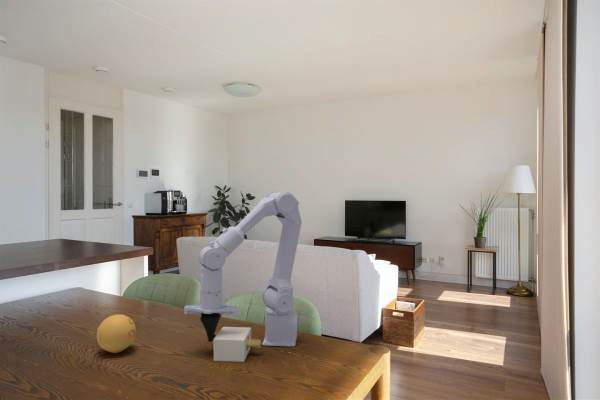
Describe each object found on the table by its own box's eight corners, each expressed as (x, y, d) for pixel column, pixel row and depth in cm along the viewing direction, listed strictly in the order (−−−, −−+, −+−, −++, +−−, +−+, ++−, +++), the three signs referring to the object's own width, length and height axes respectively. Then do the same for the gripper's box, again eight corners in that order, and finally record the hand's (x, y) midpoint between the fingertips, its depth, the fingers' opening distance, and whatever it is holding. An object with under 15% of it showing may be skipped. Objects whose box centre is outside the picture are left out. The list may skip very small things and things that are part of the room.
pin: (261, 348, 112) (261, 333, 112) (259, 353, 108) (259, 338, 108) (216, 346, 113) (216, 332, 113) (212, 352, 109) (212, 337, 109)
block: (250, 347, 115) (251, 327, 115) (244, 361, 105) (244, 340, 105) (223, 346, 116) (223, 326, 116) (213, 360, 106) (213, 339, 106)
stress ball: (101, 363, 106) (131, 339, 106) (81, 333, 107) (111, 308, 107) (122, 355, 115) (149, 332, 116) (103, 327, 117) (130, 304, 117)
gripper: (180, 293, 107) (179, 345, 107) (234, 295, 106) (234, 346, 106) (189, 287, 114) (188, 335, 114) (240, 288, 113) (239, 337, 113)
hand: (211, 340), depth 111 cm, fingers closed
